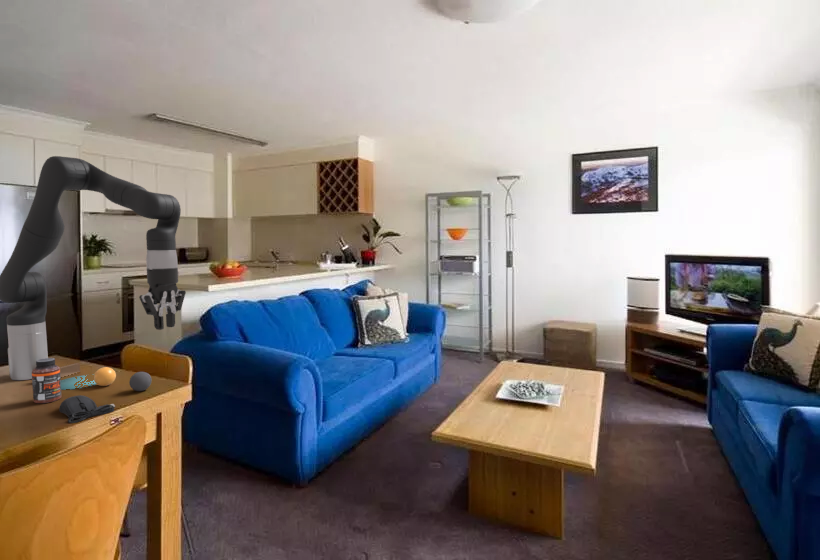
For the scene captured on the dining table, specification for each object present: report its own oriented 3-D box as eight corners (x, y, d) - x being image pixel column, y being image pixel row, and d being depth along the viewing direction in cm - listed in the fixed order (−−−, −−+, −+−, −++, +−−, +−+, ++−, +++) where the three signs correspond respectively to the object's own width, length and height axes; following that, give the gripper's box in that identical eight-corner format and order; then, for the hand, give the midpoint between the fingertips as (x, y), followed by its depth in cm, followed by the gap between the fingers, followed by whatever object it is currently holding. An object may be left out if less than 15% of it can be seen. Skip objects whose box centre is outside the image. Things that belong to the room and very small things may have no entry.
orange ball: (89, 387, 131) (88, 369, 131) (107, 381, 136) (106, 364, 136) (103, 389, 129) (102, 371, 129) (120, 383, 135) (119, 365, 134)
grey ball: (125, 392, 127) (124, 373, 126) (142, 386, 132) (141, 368, 131) (139, 394, 125) (138, 375, 125) (156, 388, 130) (155, 370, 130)
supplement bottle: (45, 405, 117) (42, 363, 116) (27, 403, 118) (24, 361, 117) (67, 397, 123) (64, 357, 122) (49, 395, 124) (47, 356, 123)
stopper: (36, 383, 135) (36, 373, 134) (76, 372, 146) (76, 363, 146) (40, 383, 134) (39, 373, 134) (80, 372, 146) (79, 363, 145)
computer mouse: (91, 401, 121) (91, 387, 121) (117, 412, 113) (116, 398, 113) (46, 413, 113) (45, 398, 113) (71, 426, 105) (70, 410, 105)
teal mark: (40, 386, 131) (40, 386, 131) (87, 373, 145) (87, 372, 145) (74, 391, 127) (74, 391, 127) (119, 377, 140) (119, 377, 140)
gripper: (172, 265, 130) (174, 322, 132) (128, 267, 117) (132, 332, 118) (192, 265, 128) (195, 324, 129) (150, 268, 114) (154, 334, 116)
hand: (165, 327), depth 124 cm, fingers open, 3 cm apart
